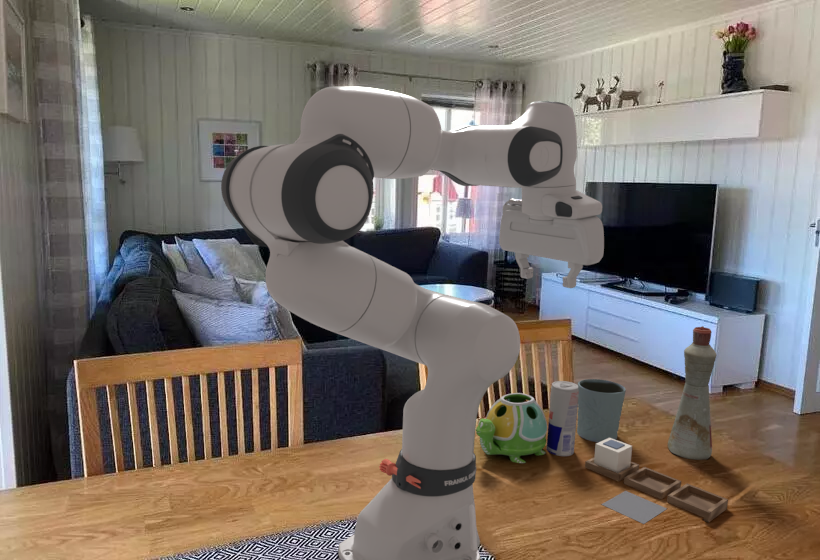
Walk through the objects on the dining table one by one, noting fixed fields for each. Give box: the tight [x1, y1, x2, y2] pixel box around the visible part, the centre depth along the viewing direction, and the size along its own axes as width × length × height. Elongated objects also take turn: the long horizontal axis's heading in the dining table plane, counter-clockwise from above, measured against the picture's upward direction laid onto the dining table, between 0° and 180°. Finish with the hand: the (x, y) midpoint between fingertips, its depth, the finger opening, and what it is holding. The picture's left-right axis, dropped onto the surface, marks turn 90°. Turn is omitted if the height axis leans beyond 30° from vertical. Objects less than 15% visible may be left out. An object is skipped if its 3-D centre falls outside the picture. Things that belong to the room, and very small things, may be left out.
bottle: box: [667, 325, 717, 461], centre depth 133 cm, size 9×9×28 cm
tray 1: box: [584, 457, 640, 482], centre depth 125 cm, size 7×7×2 cm
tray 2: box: [623, 466, 682, 500], centre depth 119 cm, size 7×7×2 cm
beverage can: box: [546, 380, 579, 457], centre depth 132 cm, size 6×6×15 cm
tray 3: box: [666, 483, 729, 523], centre depth 113 cm, size 7×7×2 cm
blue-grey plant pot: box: [576, 378, 627, 443], centre depth 141 cm, size 10×10×12 cm
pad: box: [601, 490, 668, 525], centre depth 111 cm, size 8×8×1 cm
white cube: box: [593, 438, 633, 473], centre depth 125 cm, size 5×5×5 cm
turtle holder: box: [475, 392, 548, 464], centre depth 130 cm, size 12×18×12 cm
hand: (547, 282), depth 109 cm, fingers open, 8 cm apart
